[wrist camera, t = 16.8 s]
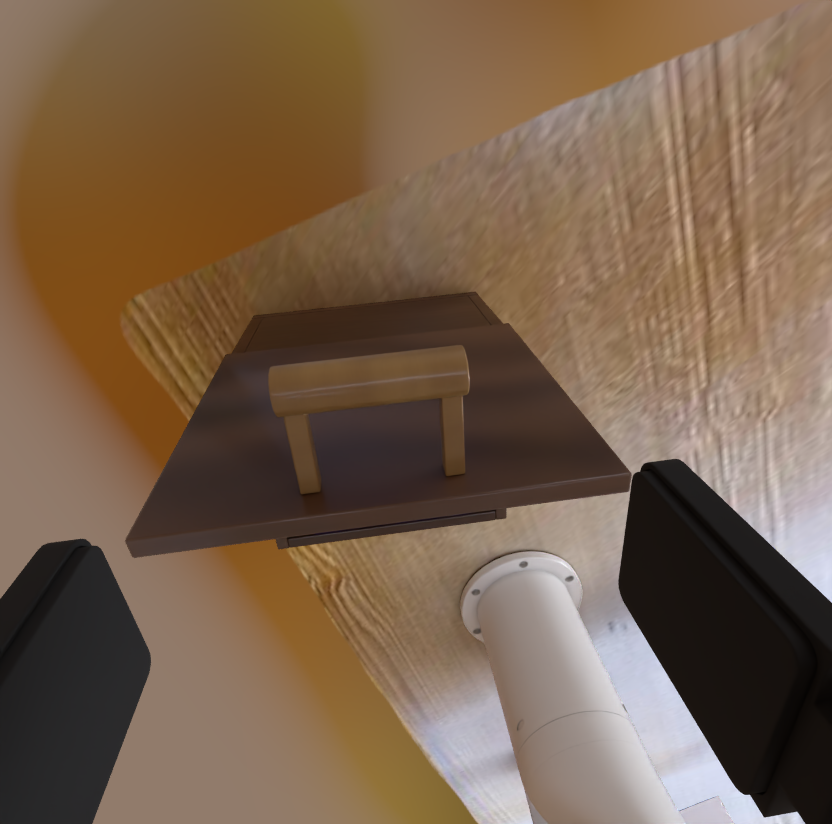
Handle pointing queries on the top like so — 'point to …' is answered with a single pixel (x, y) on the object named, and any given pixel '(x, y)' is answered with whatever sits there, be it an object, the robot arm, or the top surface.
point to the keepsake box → (367, 325)
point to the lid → (372, 441)
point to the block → (707, 813)
